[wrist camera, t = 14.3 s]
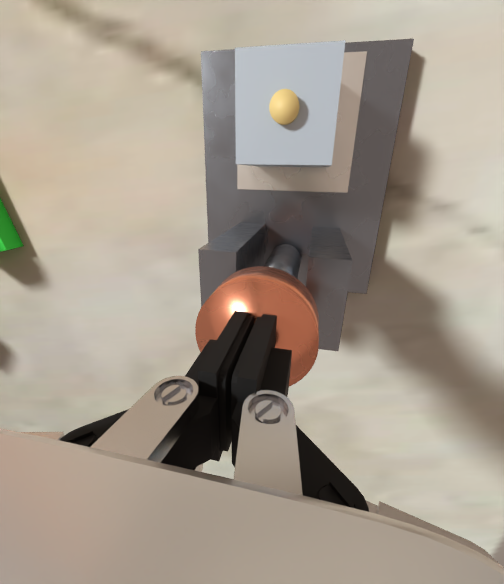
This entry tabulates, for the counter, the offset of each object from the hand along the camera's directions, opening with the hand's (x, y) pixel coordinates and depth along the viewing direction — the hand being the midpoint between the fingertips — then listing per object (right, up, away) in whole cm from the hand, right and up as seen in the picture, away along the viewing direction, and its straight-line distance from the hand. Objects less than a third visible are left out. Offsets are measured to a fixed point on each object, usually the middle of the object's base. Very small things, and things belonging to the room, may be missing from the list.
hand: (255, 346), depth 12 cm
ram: (+2, +5, +11) cm, 12 cm away
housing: (+3, +13, +8) cm, 16 cm away
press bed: (+3, +10, +10) cm, 15 cm away
